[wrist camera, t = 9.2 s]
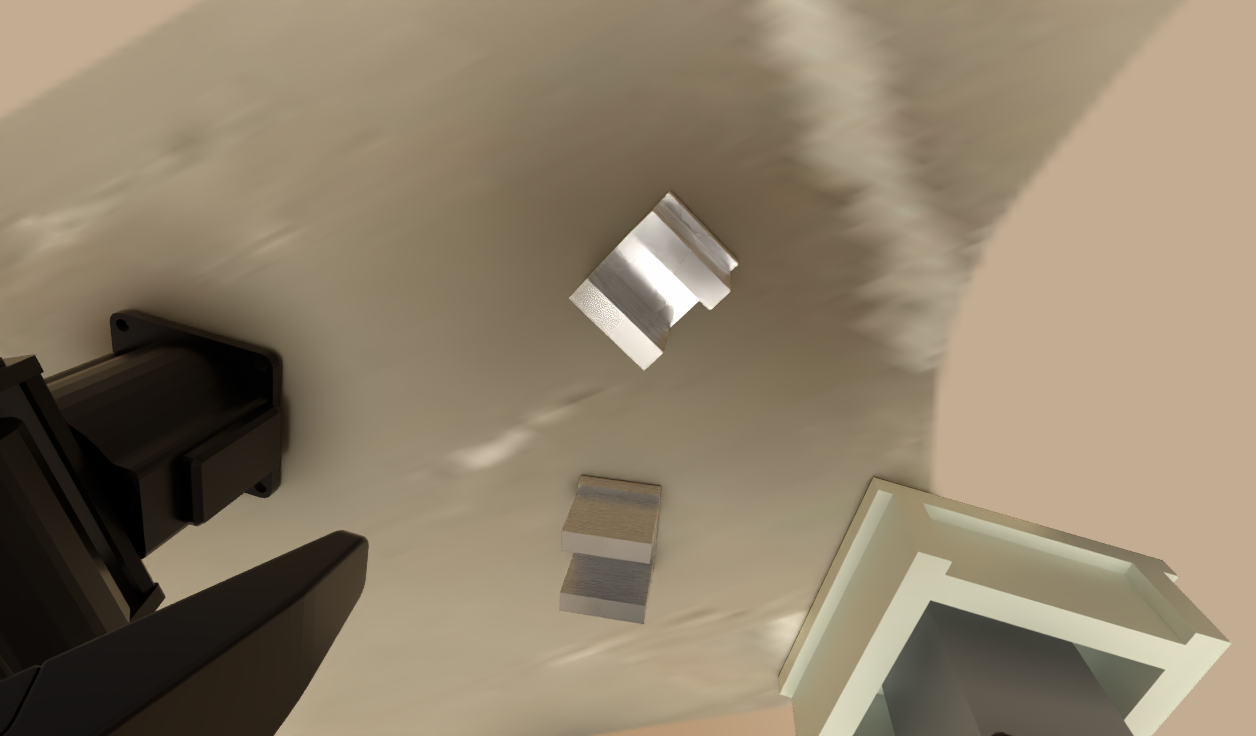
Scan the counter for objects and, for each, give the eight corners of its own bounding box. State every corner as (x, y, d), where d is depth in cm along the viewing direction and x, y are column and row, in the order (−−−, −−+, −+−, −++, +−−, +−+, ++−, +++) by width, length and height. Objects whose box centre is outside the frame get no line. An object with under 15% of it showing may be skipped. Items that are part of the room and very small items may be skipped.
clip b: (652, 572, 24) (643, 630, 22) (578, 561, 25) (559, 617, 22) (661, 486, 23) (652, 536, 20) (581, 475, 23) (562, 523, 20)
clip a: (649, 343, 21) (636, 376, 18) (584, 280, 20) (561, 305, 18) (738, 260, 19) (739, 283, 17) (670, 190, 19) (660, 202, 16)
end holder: (778, 677, 25) (785, 766, 22) (873, 477, 21) (901, 546, 18) (1020, 751, 25) (1067, 854, 21) (1162, 560, 21) (1249, 648, 17)
